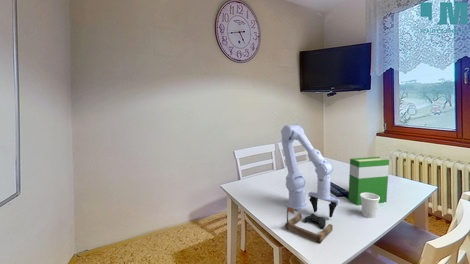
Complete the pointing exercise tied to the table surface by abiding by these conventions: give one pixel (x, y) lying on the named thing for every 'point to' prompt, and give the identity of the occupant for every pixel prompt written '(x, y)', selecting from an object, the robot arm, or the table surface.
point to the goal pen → (305, 233)
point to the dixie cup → (369, 204)
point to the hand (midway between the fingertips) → (322, 214)
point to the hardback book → (368, 178)
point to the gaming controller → (315, 218)
